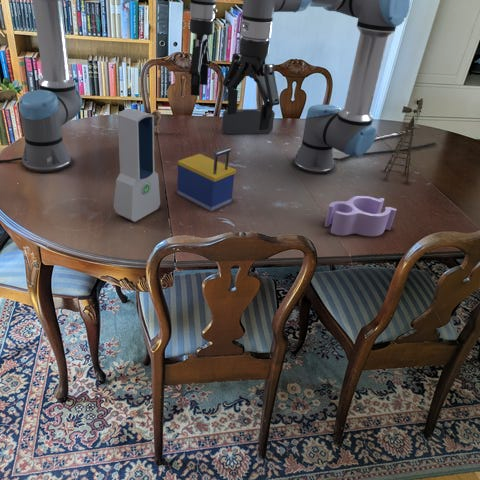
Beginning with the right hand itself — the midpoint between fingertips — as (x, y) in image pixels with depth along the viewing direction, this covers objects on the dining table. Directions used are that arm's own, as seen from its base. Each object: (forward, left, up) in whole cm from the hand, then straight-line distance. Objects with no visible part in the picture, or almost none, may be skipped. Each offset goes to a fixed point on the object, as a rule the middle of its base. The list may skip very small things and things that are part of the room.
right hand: (247, 121), depth 128 cm
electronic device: (+26, -16, -29) cm, 42 cm away
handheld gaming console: (-48, -52, -29) cm, 77 cm away
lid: (+3, -13, -19) cm, 23 cm away
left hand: (-8, -33, -1) cm, 34 cm away
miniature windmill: (-70, +10, -29) cm, 76 cm away
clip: (-26, +25, -29) cm, 47 cm away
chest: (+3, -13, -29) cm, 32 cm away
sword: (-105, -18, -29) cm, 111 cm away
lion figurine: (-9, -71, -29) cm, 77 cm away
